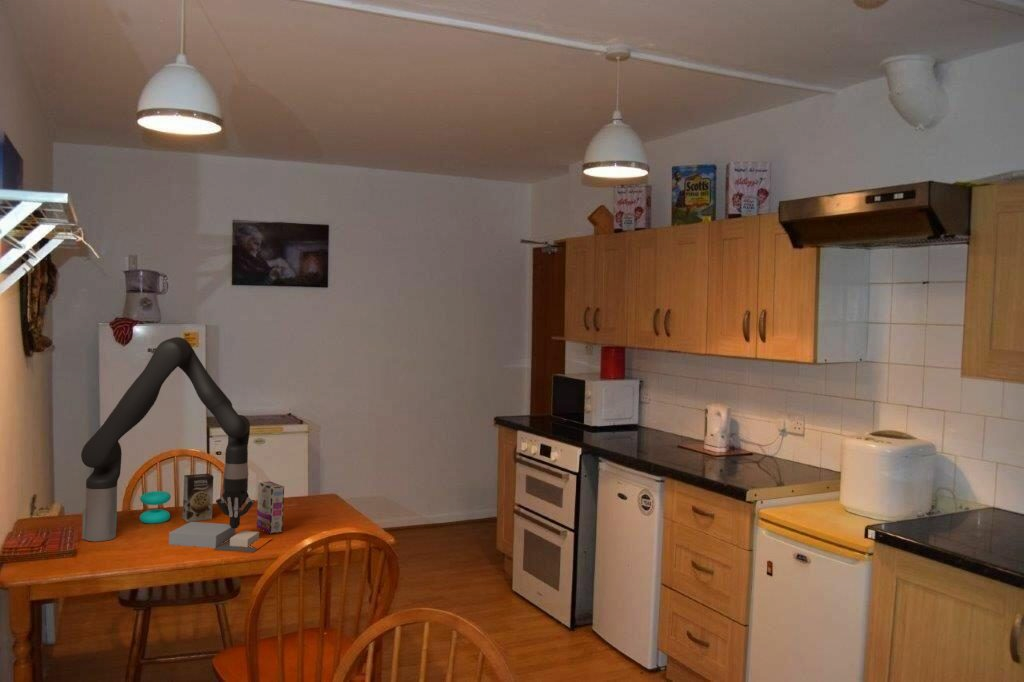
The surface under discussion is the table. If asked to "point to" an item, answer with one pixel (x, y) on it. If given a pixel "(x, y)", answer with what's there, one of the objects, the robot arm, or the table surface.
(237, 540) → the white rectangular block
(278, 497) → the candy bar box
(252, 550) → the mat
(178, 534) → the block
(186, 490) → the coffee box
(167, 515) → the donuts
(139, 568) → the table surface
